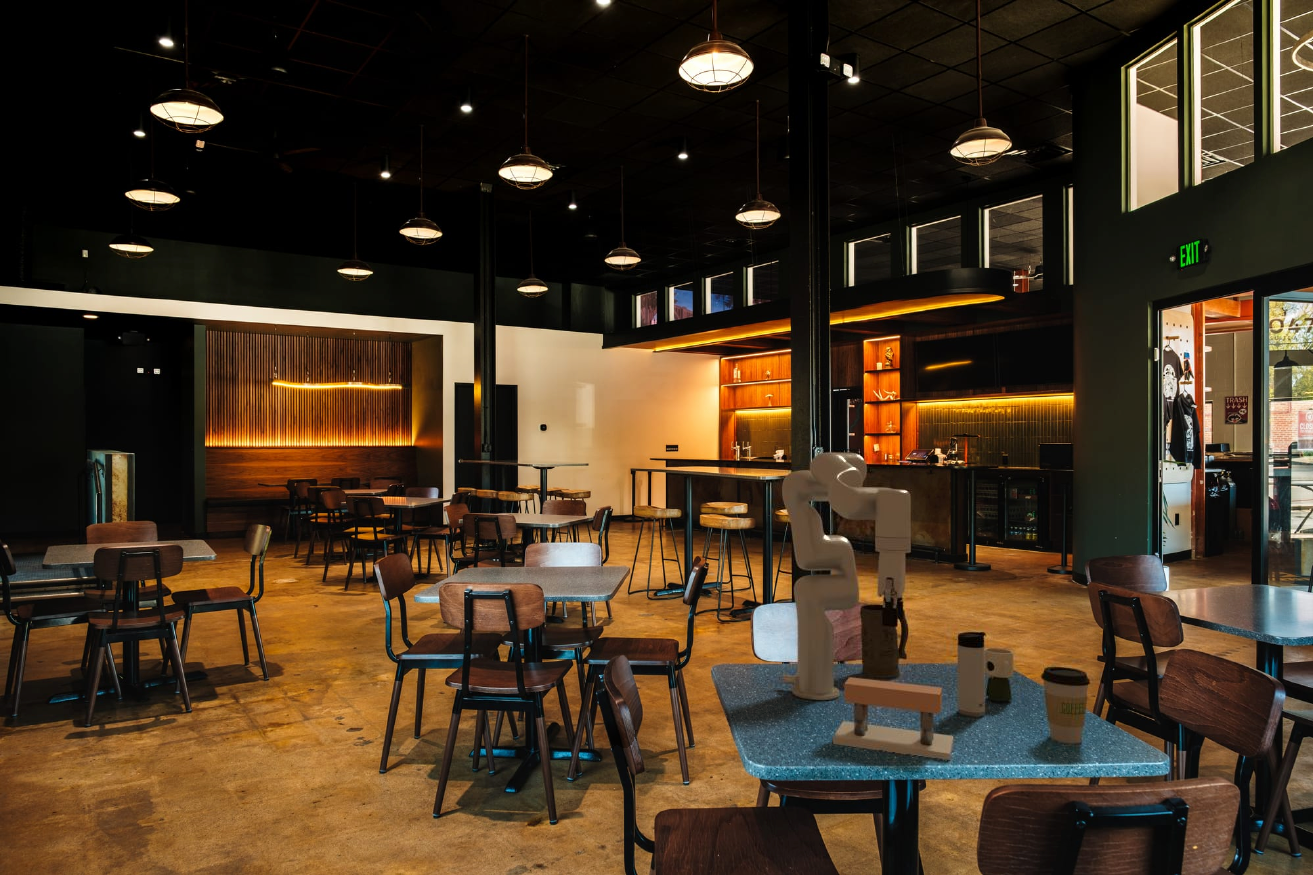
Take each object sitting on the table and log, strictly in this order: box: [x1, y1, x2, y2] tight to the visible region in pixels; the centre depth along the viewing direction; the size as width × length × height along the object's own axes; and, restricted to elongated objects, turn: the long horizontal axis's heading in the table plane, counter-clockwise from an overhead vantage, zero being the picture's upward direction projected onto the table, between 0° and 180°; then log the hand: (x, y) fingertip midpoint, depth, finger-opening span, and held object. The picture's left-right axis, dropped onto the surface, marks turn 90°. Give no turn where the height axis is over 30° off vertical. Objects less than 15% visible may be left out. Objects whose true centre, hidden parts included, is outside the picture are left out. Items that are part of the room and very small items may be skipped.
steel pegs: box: [853, 703, 935, 746], centre depth 174 cm, size 16×6×7 cm, turn 66°
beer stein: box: [859, 604, 909, 679], centre depth 234 cm, size 15×11×20 cm
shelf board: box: [844, 676, 943, 715], centre depth 174 cm, size 20×6×4 cm, turn 66°
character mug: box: [984, 647, 1014, 703], centre depth 207 cm, size 11×7×13 cm, turn 179°
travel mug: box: [957, 631, 987, 718], centre depth 196 cm, size 6×7×20 cm
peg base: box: [832, 721, 954, 760], centre depth 174 cm, size 24×12×2 cm, turn 66°
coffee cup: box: [1040, 666, 1091, 744], centre depth 178 cm, size 10×10×15 cm
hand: (892, 622), depth 175 cm, fingers open, 9 cm apart
